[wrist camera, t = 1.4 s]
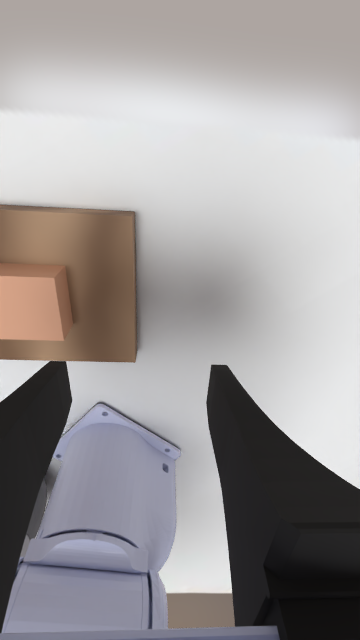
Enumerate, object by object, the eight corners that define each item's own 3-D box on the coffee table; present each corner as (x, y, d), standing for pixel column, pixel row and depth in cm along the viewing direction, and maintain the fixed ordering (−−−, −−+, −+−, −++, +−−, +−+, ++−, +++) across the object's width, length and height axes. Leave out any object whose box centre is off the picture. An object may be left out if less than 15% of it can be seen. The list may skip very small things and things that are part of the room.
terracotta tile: (65, 265, 18) (53, 277, 16) (73, 324, 20) (63, 340, 18) (-5, 262, 18) (-24, 274, 16) (10, 322, 20) (-6, 338, 18)
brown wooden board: (134, 211, 18) (132, 216, 17) (137, 350, 23) (135, 362, 21) (-151, 197, 17) (-178, 200, 16) (-85, 344, 22) (-102, 356, 21)
